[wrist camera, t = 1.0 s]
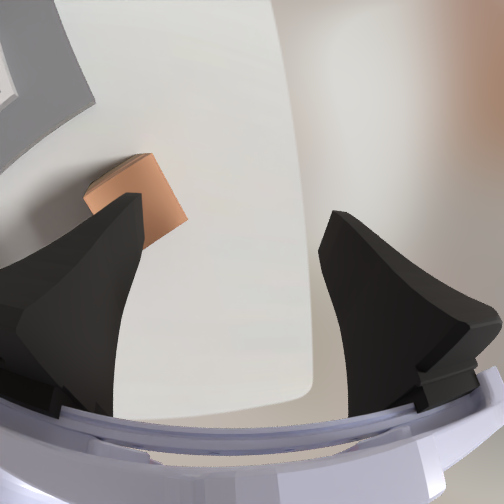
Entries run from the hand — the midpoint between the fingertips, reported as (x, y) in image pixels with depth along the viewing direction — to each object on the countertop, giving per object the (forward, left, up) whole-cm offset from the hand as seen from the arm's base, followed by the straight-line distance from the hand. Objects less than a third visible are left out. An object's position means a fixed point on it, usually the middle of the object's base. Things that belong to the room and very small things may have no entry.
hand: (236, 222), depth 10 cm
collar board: (-10, +15, -12) cm, 22 cm away
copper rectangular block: (-3, +1, -12) cm, 12 cm away
